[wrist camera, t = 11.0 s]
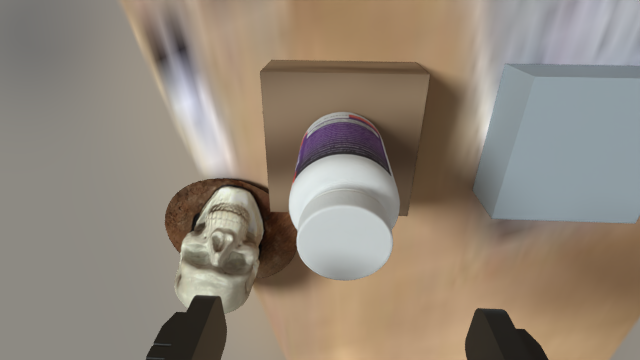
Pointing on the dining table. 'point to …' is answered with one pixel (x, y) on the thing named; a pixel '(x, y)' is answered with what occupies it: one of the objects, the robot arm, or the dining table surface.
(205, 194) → the skull
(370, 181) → the pill bottle
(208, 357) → the robot arm
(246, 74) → the dining table surface
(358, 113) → the walnut block
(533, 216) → the slate block
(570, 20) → the dining table surface
